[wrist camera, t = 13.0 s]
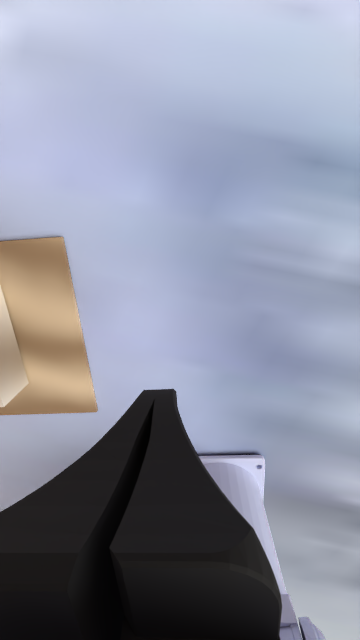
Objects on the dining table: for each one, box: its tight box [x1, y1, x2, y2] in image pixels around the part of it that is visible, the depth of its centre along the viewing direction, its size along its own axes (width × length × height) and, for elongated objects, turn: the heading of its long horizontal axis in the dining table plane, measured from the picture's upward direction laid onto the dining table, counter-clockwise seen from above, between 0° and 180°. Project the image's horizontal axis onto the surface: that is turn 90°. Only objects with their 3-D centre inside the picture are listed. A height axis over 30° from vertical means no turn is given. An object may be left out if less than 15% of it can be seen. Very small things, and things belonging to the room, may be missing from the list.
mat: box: [0, 237, 98, 415], centre depth 20 cm, size 14×12×1 cm
